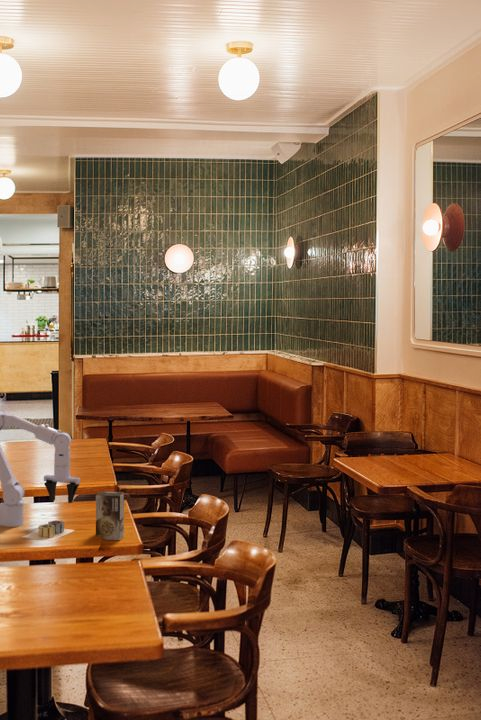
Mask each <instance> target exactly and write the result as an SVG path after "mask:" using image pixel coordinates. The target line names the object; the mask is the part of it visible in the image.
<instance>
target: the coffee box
mask: <svg viewBox="0 0 481 720" xmlns="http://www.w3.org/2000/svg"><path fill="white" fill-rule="evenodd" d="M124 527H125V492H124V491H102V490H101V491H99V492H98V493H97V494H96V495H95V537H103V538H102V540H105V541H106V540H109V541H110V540H111V541H120V540H122V539H123V538H124V535H125V528H124Z"/></svg>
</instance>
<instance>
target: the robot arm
mask: <svg viewBox="0 0 481 720" xmlns="http://www.w3.org/2000/svg"><path fill="white" fill-rule="evenodd" d="M7 427H16V428H19V429H21V430H24V431H26V432H28V433H32V434H34V437H35V438H36V439H38V440H39V441H41V442H44V443H46V444H49V445H51V446H52V445H53V446H54V457H53V458H54V460H53V461H54V463H53V465H54V466H53V467H54V469H53V470H54V471H53V474H52V475H51V474H50V475H49V474H45V475H43V482H44V486H45V488H46V490H47V493H48V495H49V501H50V502H55V500H56V491H57V484H58V483H63V484H64V483H65V484H66V490H67V496H68V497H67V502H68V504H72V503H73V502H74V497H75V495H76V493H77V490H78V488H79V486H80V485H81V478H80V477H76V476H71V446H70V445H71V443H72V437H71V435H70V434H69V433H67V431H62V430H61V429H56V428H53V427H50V424H48V423H45V424H43V423H42V424H41V423H40V424H39V425H37V424H35V423H34V422H31V421H29V420H27V419H25V418H23V417H21V416H18V415H16V414H14V413H11V412H9V411H5V410H3V409H0V431H1V430H2V429H3V428H7ZM0 486H1V488H0V489H1V491H2V499H3V502H1V503H0V526H3V527H7V528H8V527H9V528H15V527H18V528H19V527H21V526H24V523H25V522H24V521H25V518H24V517H25V515H24V514H25V513H24V511H25V510H24V509H25V507H24V506H25V504H24V503H25V501H24V500H23V498H24V496H25V492H26V489H25V487H24V486H23V485H21V484H20V483H19V481H18V478H16V477H15V476H14V473H13V470H12V468H11V466H10V464H9V461H8V460H7V457H6V455H5V452H4V451H3V447H2V446H1V445H0Z"/></svg>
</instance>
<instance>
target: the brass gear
mask: <svg viewBox="0 0 481 720" xmlns="http://www.w3.org/2000/svg"><path fill="white" fill-rule="evenodd" d="M38 530H39V533H38V536H39V537H41V538H42V537H43V538H48V537H49V538H50V537H53V536H55V525H51V524H49V527H45V524H40V525H39V526H38Z"/></svg>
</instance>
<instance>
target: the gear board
mask: <svg viewBox="0 0 481 720" xmlns="http://www.w3.org/2000/svg"><path fill="white" fill-rule="evenodd" d="M53 521H54V524H57V523H58V521H59V520H53ZM44 525H45V527H49V524H48V523H44ZM75 531H76V530H75V529H69V528H68V529H67V528H64V532H63V533H60V534H55V536H53V537H50V538H49V537H48V538H43V537H42V538H41V537H39V536H38V533H39V529H37V530H35V531H33V532H31V533H28V534H26V535H22V538H26V539H32V540H33V539H34V540H39V541H40V540H42V541H51V542H52V541H54V540H56V539H58V538H61V537H63V536H66V535H68V534H71V533H73V532H75Z"/></svg>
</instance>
